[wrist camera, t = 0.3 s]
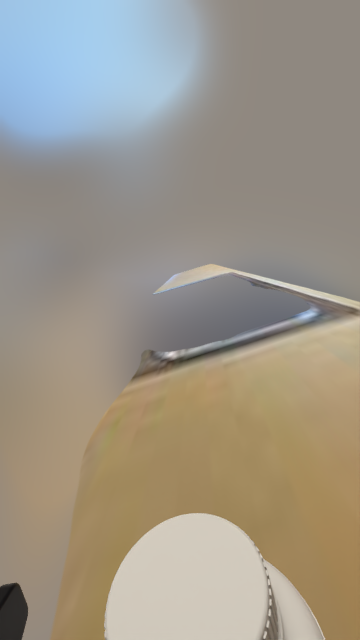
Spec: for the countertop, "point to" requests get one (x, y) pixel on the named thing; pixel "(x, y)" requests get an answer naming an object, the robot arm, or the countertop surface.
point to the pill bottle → (203, 588)
